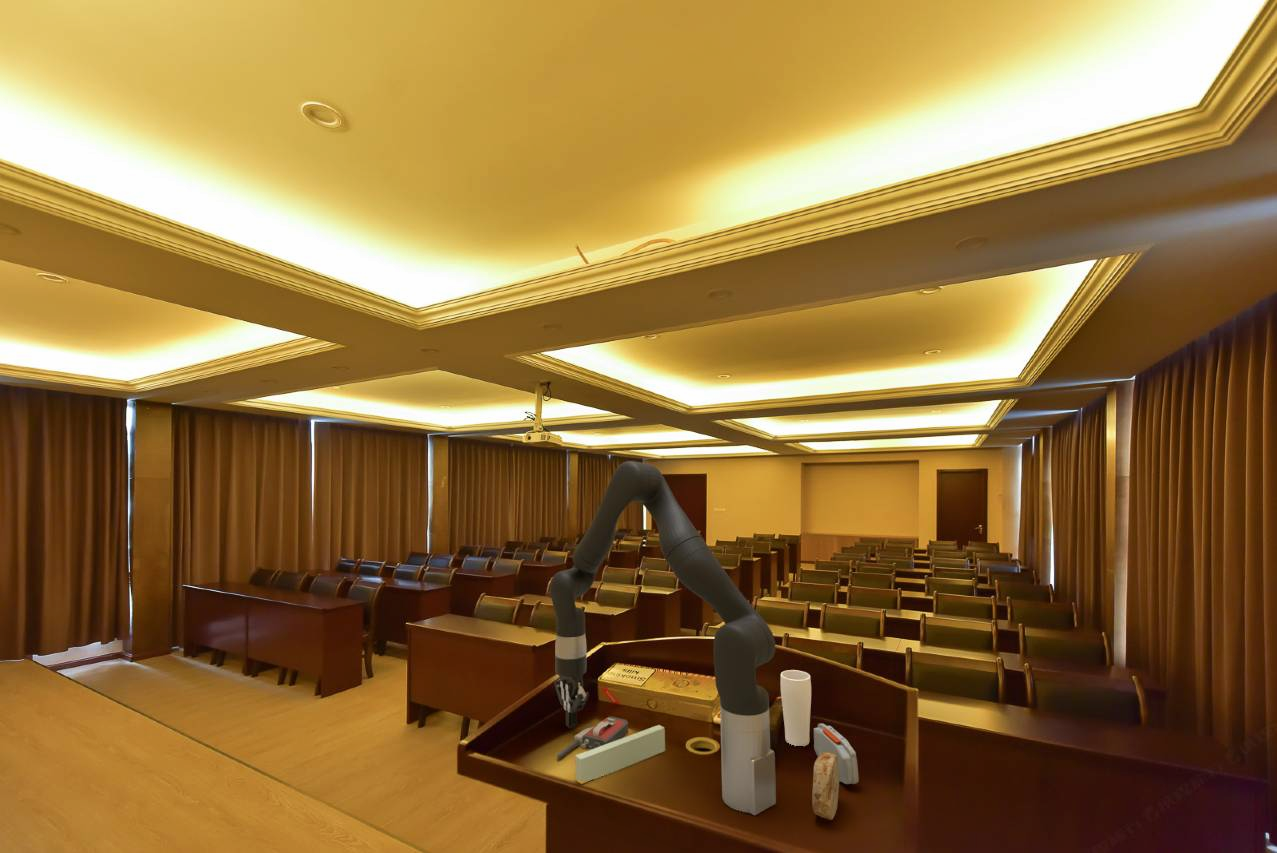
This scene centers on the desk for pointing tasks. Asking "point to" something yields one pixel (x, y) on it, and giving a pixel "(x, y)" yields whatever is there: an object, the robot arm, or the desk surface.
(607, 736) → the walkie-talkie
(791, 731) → the drinking glass
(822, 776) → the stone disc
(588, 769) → the bar
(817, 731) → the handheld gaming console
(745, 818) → the desk surface
